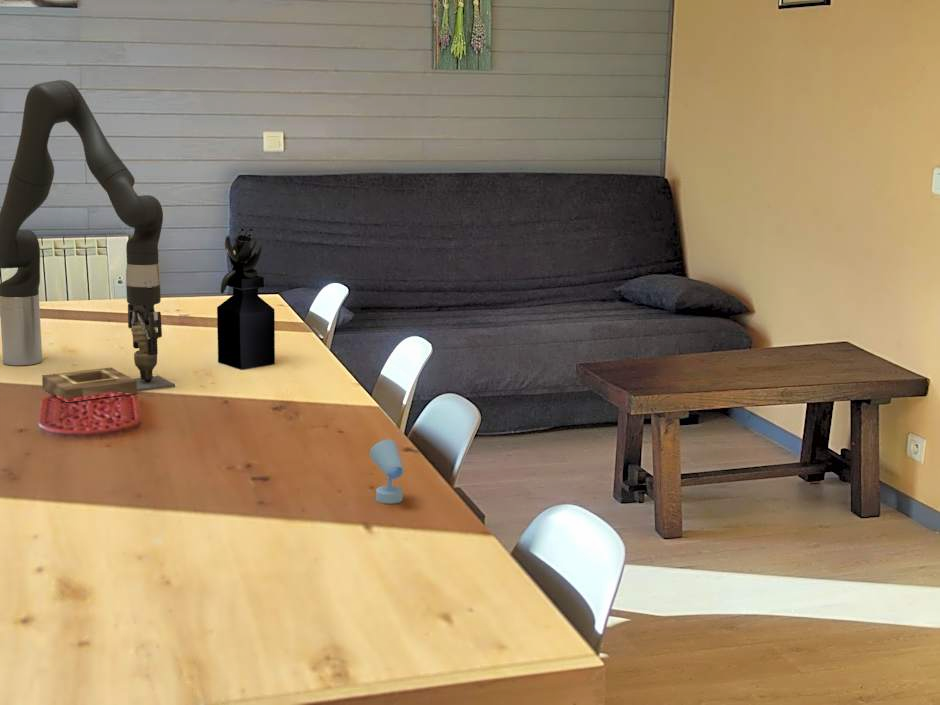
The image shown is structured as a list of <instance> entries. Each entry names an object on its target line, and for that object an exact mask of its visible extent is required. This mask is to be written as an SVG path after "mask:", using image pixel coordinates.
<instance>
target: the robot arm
mask: <svg viewBox="0 0 940 705" xmlns="http://www.w3.org/2000/svg"><path fill="white" fill-rule="evenodd" d="M23 108H24V109H23V114H22V124H21V131H20V135H19V141H18V145H17V149H16V153H15V158H14V160H13V163H12V164H13V165H12V167H11V169H10V170H11V171H10V173H9V178H8V183H7V186H6V187H7V188H6V193H5V196H4V198H3V203H2V207H1V209H0V269H17V270H16V272H15V273H14V275H12V276H11V277H10V278H7V279H6V280H4V281H2V282H0V332H1V333H0V334H1V350H2V363H3V364H4V365H7V366H30V365H37V364H39V363H41V362H43V346H42V345H43V344H42V330H41V329H42V328H41V327H42V326H41V310H40V308H41V307H40V294H39V293H40V290H39V288H40V284H41V249H40V247H41V246H40V240H39V239H38V237H37V234H36V233H35V232H34V231H32V230H30V229H20V228H21V227H22V225H23V224H24V223H25V221H26V220H27V219H28V218H29V217H30V216H31V215H32V214H34V213H35V212H36V211H37V210H38V209H39V208H40V207H41V206H42V205H43V204H44V202H46V200H47V198H48V197H49V194H50V190H51V187H52V184H53V180H54V175H55V166H54V163H53V160H52V157H51V154H50V153H49V152H50V151H49V149H48V146H49V145H48V144H49V140H50V137H51V136H50V135H51V132H52V130H53V127H54V126H55V125H56V124H60V123H65V122H67V123H69V125H70V126H71V127H72V128H73V129H74V130H75V132H76V133H77V135H78V136H79V138H80V139H81V142H82V146H83V151H84V156H85V161H86V165H87V167H88V169H89V171H90V172H91V174H92V175H93V177H94V178H95V179H96V180H97V182H98V183H99V184H100V186H101V187H102V189H103V190H104V191H105V192H106V193H107V195H108V198H109V200H110V202H111V205H112V207H113V209H114V211H115V213H116V215H117V217H118V218H119V219H120V220H121V222H123V224H125V225H126V226H128V227H130V228H133V229H134V230H133V235H132V237H131V238H129V239H128V240H127V241H126V244H125V245H126V247H125V250H126V252H125V253H126V268H125V286H126V287H125V288H126V302H127V326H128V329H130V332H131V333H132V332H133V330H132V326H137V322H140V323H141V327H142V330H143V331H144V332H145V333H146V337H147V354H148V355H150V356H151V355H157V356H158V353H159V352H158V350H159V349H158V339H160V338H162V336H163V331H162V313H161V311H155V305H157V304H160V303H161V300H162V299H161V272H160V266H159V265H160V264H159V241H160V237H161V232H162V227H163V220H164V212H163V208H162V205H161V202H160V201H159V200H158V198H156V197H155V196H153V195H151V194H150V195H148V194H145V195H144V194H143V195H138V194H137V193H136V191H135V189H134V186H135V182H136V181H135V176H134V175H133V174H132V172H131V171H130V170H129V168H128V167H127V166H126V165H125V163H124V162H123V161H122V160H121V159H120V157H119V156H118V155H117V153H116V152H115V150H114V149H113V148H112V146H111V145H110V143H109V141H108V140H107V138H106V137H105V135H104V132H103V131H102V129H101V127H100V126H99V123H98V122H97V120H96V118H95V116H94V114H93V113H92V110H91V109H90V106H89V105H88V104H87V102H86V100H85V98H84V97H83V95H82V93H81V92H80V90H79V89H78V88H77V86H75V84H74V83H72V82H70V80H69V81H68V80H66V79H65V80H63V79H59V80H52V81H45V82H41V83H36V84H34V85H33V86H31V87H30V89H28V92H27V94H26V98H25V102H24V107H23ZM146 325H149V326H146ZM149 331H150V333H149ZM133 338H134V336H133V335H132V339H133ZM132 347H133V348H134V349H136V350H137V349H139V347H138V343H137V342H134V341H133V340H132Z"/></svg>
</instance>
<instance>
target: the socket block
mask: <svg viewBox="0 0 940 705" xmlns="http://www.w3.org/2000/svg"><path fill="white" fill-rule="evenodd" d="M41 378H42V389H44V390H45V391H47V392H48V393H49V394H51V395H53V396H54V395H60V396H62V397H63V398H65V399H71V398H77V397H83V396H90V395H97V394H103V393H109V392H122V393H131V394H132V395H138V392H137V381H136V380H134V379H135V378H131V377H130V376H128V375H126V374H124V373H122V372H121V371H120V370H119V371H118V370H117V369H115V368H113V367H102V368H94V369H85V370H76V371H69V372H58V373H52V374H44V375H43V374H42V377H41Z"/></svg>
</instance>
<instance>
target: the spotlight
mask: <svg viewBox="0 0 940 705" xmlns="http://www.w3.org/2000/svg"><path fill="white" fill-rule="evenodd" d="M369 450H370V451H369V458H370V459H371V461H372V462H374V464H375V465H376V466H377V467H378V468H379V469H380V471H381V472H383V474H384V475H385V476H386V477H387V478H386V480H387V481H386V483H387V484H386V485H382V486H379V487H377V488H376V489H375V492H376V493H375V500H376V501H377V503H381V504H388V505H389V504H398V503H400V502H402V501H403V498H404V497H403V492H404V491H403V488H402V487H400V486H396V485H393V481H395V480H397V479H399V478H400V479H401V477H402V476H403V475H404V470H405V469H404V467H403V463H402V459H401V455H400V452H399V448H398V445H397V443H396V441H394V440H393V439H383V440H380V441H378V442H377V443H375V444H374V445H373V446H372V447H371V449H369Z"/></svg>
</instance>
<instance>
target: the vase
mask: <svg viewBox="0 0 940 705" xmlns="http://www.w3.org/2000/svg"><path fill="white" fill-rule="evenodd" d="M243 231H244V228H240V231H239V234H238V235H236V237H234V240H235V242H234V244H233V245H232V242H231V238H230V235H228V234H227V235H226V237H225V240H224V248H225V252H226V253H227V254H228V258H229V263H230V264H231V267H232V269H231V270H230V271H228V272H227V273H226V274H225V275H224V277H223V278H222V280H221V284H220V294H224V292H225V291H226V288H227V287H228V288H232V295H231V296H230V297H229V298H227V299H226V300H225V301H223V302H222V303H221V304H219V305H218V306H217V307H216V315H217V316H216V318H217V320H216V322H217V323H216V324H217V330H216V332H217V363H218V364H222V365H225V366H227V367H231V368H234V369H237V370H240V371H243V370H251V369H256V368H263V367H268V366H275V365H274V364H276V363H275V362H276V353H275V352H276V349H275V348H276V347H275V346H276V345H275V344H276V342H275V341H276V339H275V337H276V336H275V335H276V334H275V330H276V329H275V328H276V327H275V325H276V324H275V322H276V321H275V318H276V317H275V314H276V313H275V308H274V307H272V306H271V305H270V304H269V303H267V302H266V301H265V300H263V299H262V298H261V297H260V296H259V289H260V288H261V289H262V288H265V277H263V276H259V274H260V272H259V271H258V270H257V269H255V267H256V265H257V264H258V263H259V261H260V258H261V254H262V249H263V247H262V245H260V246H259V249H258V251H257V252H255V249H256V247H257V243H258V241H257V239H255V240H254V243H253V245H252V247H251V244H252V242H253V237H251V236H252V234H250V233H249V234H248V235H247V233H248V232H250V231H251V232H252V231H253V228H250V229H248V230H247V231H245V234H240V233H241V232H243ZM254 252H255V253H254Z"/></svg>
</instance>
